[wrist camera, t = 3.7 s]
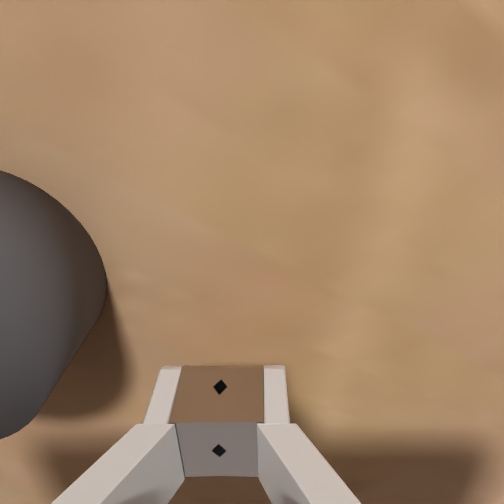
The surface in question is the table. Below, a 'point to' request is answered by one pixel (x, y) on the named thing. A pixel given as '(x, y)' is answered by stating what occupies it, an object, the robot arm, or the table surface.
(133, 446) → the robot arm
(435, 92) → the table surface
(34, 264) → the dark grey rounded dome
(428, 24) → the table surface
